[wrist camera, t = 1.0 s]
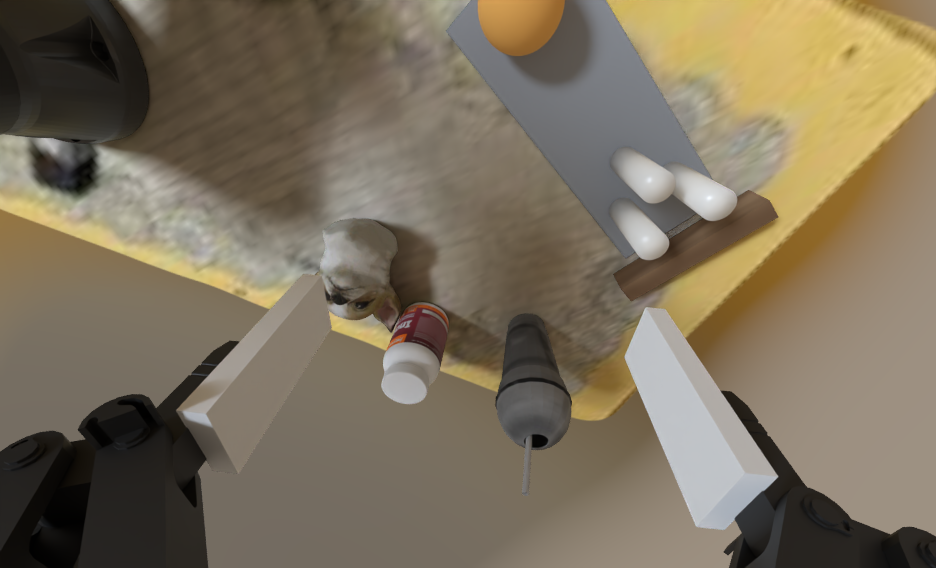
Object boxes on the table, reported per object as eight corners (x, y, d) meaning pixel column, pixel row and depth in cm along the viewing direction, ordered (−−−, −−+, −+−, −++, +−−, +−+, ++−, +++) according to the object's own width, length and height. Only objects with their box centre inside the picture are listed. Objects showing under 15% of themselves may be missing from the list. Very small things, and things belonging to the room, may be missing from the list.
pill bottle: (411, 292, 42) (385, 357, 32) (457, 313, 43) (445, 381, 33) (394, 327, 45) (365, 395, 36) (437, 345, 46) (421, 416, 37)
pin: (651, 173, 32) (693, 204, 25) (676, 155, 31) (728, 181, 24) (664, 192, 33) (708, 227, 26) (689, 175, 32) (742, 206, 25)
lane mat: (446, 31, 28) (445, 30, 28) (548, -94, 24) (548, -95, 23) (624, 257, 37) (625, 258, 37) (721, 196, 33) (722, 196, 32)
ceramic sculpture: (402, 259, 29) (382, 370, 38) (424, 216, 36) (403, 318, 45) (277, 222, 29) (285, 344, 37) (324, 186, 36) (322, 295, 44)
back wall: (613, 274, 38) (620, 289, 35) (748, 190, 32) (769, 200, 30) (622, 286, 39) (631, 301, 36) (757, 205, 33) (778, 217, 30)
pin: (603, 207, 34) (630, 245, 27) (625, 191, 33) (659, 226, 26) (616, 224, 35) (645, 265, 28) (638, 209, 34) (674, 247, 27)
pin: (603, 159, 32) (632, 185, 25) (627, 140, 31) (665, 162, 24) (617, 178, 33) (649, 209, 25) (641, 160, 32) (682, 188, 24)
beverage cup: (547, 354, 45) (574, 526, 28) (492, 345, 45) (485, 512, 28) (563, 309, 41) (605, 479, 24) (503, 299, 41) (502, 462, 24)
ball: (464, 9, 27) (455, -4, 22) (525, -66, 24) (531, -100, 19) (513, 74, 29) (515, 76, 24) (574, 12, 26) (591, -1, 21)
